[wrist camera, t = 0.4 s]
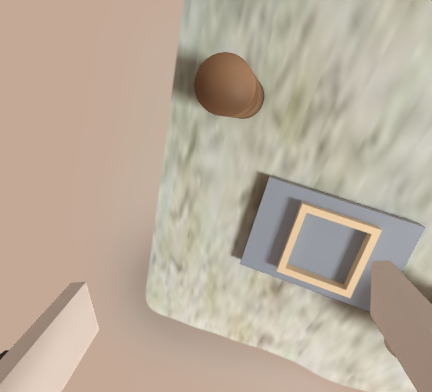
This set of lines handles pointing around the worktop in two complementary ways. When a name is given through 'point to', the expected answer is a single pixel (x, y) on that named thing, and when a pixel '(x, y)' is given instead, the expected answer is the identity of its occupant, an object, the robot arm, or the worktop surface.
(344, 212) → the board
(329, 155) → the worktop surface
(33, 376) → the robot arm
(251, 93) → the post
